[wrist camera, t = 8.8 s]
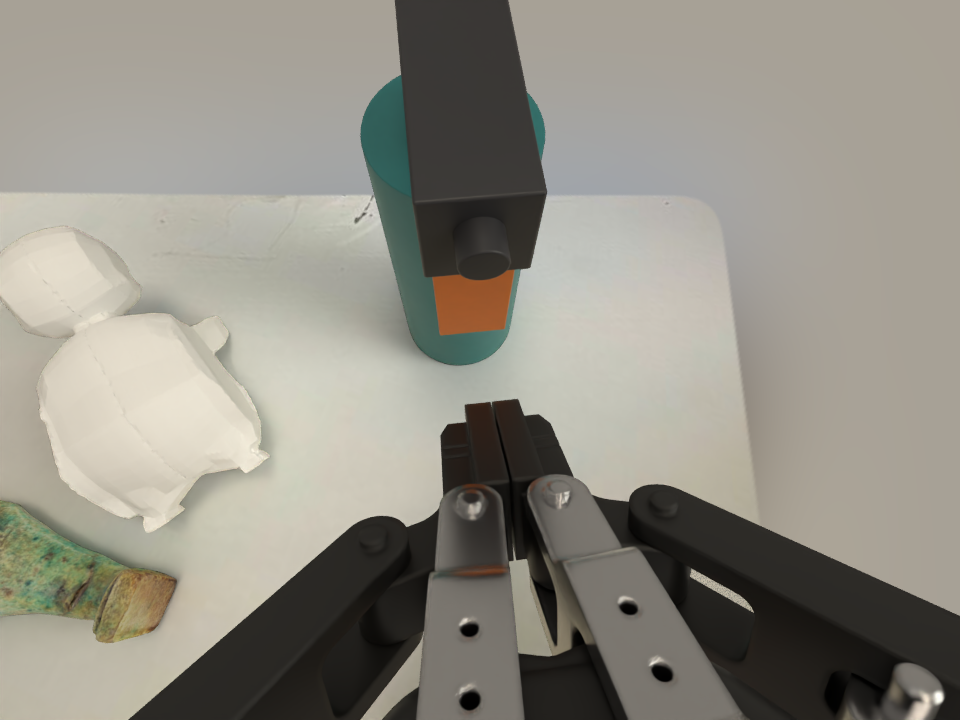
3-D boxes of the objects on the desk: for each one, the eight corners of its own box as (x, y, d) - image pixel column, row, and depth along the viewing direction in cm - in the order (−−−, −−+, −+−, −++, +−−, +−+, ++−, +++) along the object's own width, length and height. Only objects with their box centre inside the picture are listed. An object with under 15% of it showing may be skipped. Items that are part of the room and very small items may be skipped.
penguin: (299, 437, 31) (162, 228, 30) (277, 456, 23) (87, 170, 22) (168, 518, 30) (15, 299, 28) (94, 570, 21) (-126, 264, 20)
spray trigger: (437, 306, 19) (427, 225, 14) (500, 300, 19) (511, 217, 14) (439, 336, 18) (430, 261, 14) (505, 329, 18) (517, 254, 14)
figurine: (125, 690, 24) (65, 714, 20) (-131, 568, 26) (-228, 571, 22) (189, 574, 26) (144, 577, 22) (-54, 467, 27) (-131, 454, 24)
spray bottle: (405, 277, 32) (319, -99, 14) (503, 268, 33) (551, -109, 14) (417, 448, 28) (322, 249, 10) (529, 435, 29) (643, 222, 10)
